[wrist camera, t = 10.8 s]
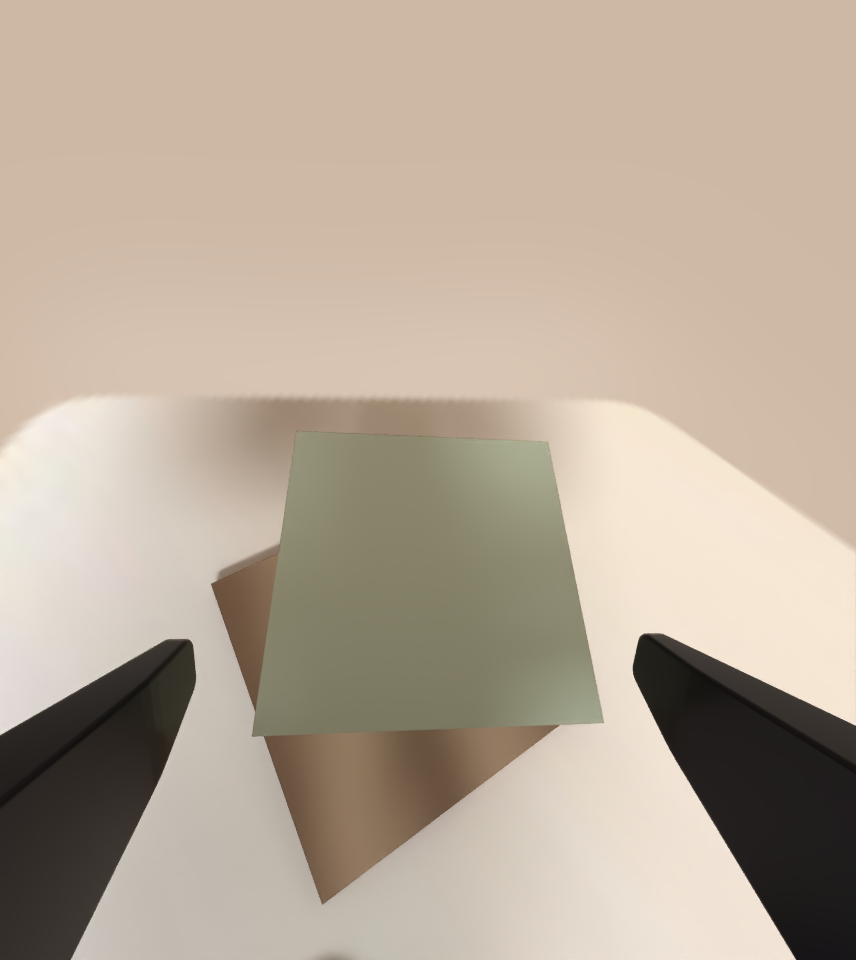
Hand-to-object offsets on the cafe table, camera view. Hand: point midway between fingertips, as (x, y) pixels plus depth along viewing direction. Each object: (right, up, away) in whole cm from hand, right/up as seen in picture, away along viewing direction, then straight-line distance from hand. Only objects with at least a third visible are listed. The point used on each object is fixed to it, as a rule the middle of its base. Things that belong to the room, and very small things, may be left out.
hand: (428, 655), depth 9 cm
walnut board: (-1, -4, +10) cm, 11 cm away
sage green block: (-1, -3, +10) cm, 10 cm away
